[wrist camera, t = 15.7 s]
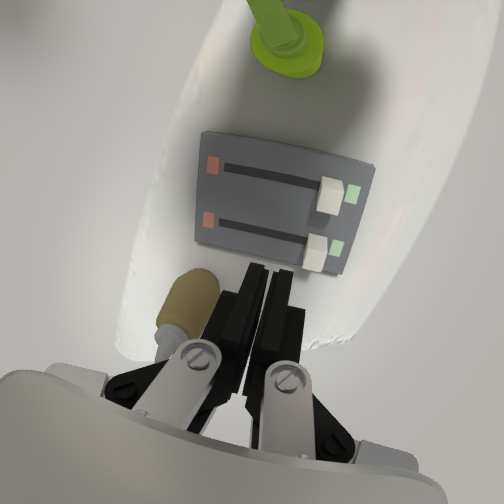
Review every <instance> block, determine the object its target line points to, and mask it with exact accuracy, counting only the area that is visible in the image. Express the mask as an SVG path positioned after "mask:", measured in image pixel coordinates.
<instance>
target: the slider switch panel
mask: <svg viewBox="0 0 504 504" xmlns="http://www.w3.org/2000/svg"><path fill="white" fill-rule="evenodd" d="M375 169H376V168H375V167H374V165H373V164H369V163H365V162H362V161H358V160H354V159H350V158H347V157H343V156H339V155H335V154H330V153H326V152H322V151H318V150H313V149H309V148H304V147H299V146H294V145H289V144H284V143H279V142H274V141H268V140H263V139H257V138H251V137H245V136H238V135H232V134H225V133H218V132H210V131H206V132H203V133H201V141H200V153H199V167H198V181H197V198H196V217H195V241H196V242H201V243H205V244H209V245H214V246H218V247H222V248H227V249H231V250H235V251H240V252H244V253H249V254H253V255H257V256H262V257H266V258H270V259H275V260H279V261H284V262H288V263H292V264H297V265H301V266H302V265H303V257H304V251H305V247H306V243H307V239H308V235H309V233H311V234H315V235H320V236H324V237H327V256H326V259H325V262H324V266H323V269H322V270H323V271H327V272H332V273H336V274H341V275H342V273H343V270H344V267H345V265H346V262H347V259H348V256H349V253H350V250H351V247H352V244H353V241H354V238H355V235H356V232H357V229H358V226H359V223H360V220H361V217H362V214H363V210H364V207H365V204H366V201H367V197H368V194H369V190H370V187H371V183H372V180H373V176H374V173H375ZM322 176H325V177H329V178H333V179H337V180H341V181H342V183H343V187H344V195H343V199H342V202H341V206H340V210H339V213H338V216H336V215H332V214H328V213H324V212H320V211H316V210H317V196H318V192H319V188H320V183H321V179H322Z"/></svg>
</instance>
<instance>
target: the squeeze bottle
mask: <svg viewBox="0 0 504 504" xmlns="http://www.w3.org/2000/svg"><path fill="white" fill-rule="evenodd" d="M219 297H220V295H219V283H218V280H217V278H216V277H215V276H214V275H213V274H212V273H211V272H209V271H207V270H205V269H193V270H191V271H189V272H187V273H185V274H184V275H182V276H180V277H178V278H177V280H176V281H175V282H174V284H173V286H172V288H171V290H170V292H169V294H168V296H167V298H166V300H165V302H164V304H163V306H162V308H161V311H160V313H159V315H158V317H157V319H156V325H157V327H158V330H157V331H156V333H155V341H156V343H157V344H158V345H159V346H158V350H157V354H156V358H155V363H158V362H162V361H165V360H168V358H169V357H170V356H171V355H172V354H174V353H175V351H176V350H177V349H178V347H179V346H180V345H181V344H182V343H184V342H186V341H188V340H192V339H198V338H199V336H200V335H201V333H202V331H203V330H204V328H205V327H206V325H207V323H208V321H209V319H210V316H211V314H212V312H213V310H214V308H215V306H216V303H217V301H218V299H219Z"/></svg>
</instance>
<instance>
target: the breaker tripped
mask: <svg viewBox="0 0 504 504" xmlns="http://www.w3.org/2000/svg"><path fill="white" fill-rule="evenodd" d="M326 256H327V237H324V236H320V235H315V234H311V233H309V235H308V239H307V243H306V247H305V251H304V257H303V265H302V268H303V269H307V270H311V271H316V272H320V273H321V272H322V269H323V266H324V262H325V259H326Z"/></svg>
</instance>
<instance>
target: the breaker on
mask: <svg viewBox="0 0 504 504" xmlns="http://www.w3.org/2000/svg"><path fill="white" fill-rule="evenodd" d="M343 195H344V187H343V183H342V181H341V180H337V179H333V178H329V177H325V176H322V179H321V183H320V188H319V192H318V196H317V210H316V211H320V212H324V213H328V214H332V215H336V216H338V213H339V210H340V206H341V202H342V199H343Z"/></svg>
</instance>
